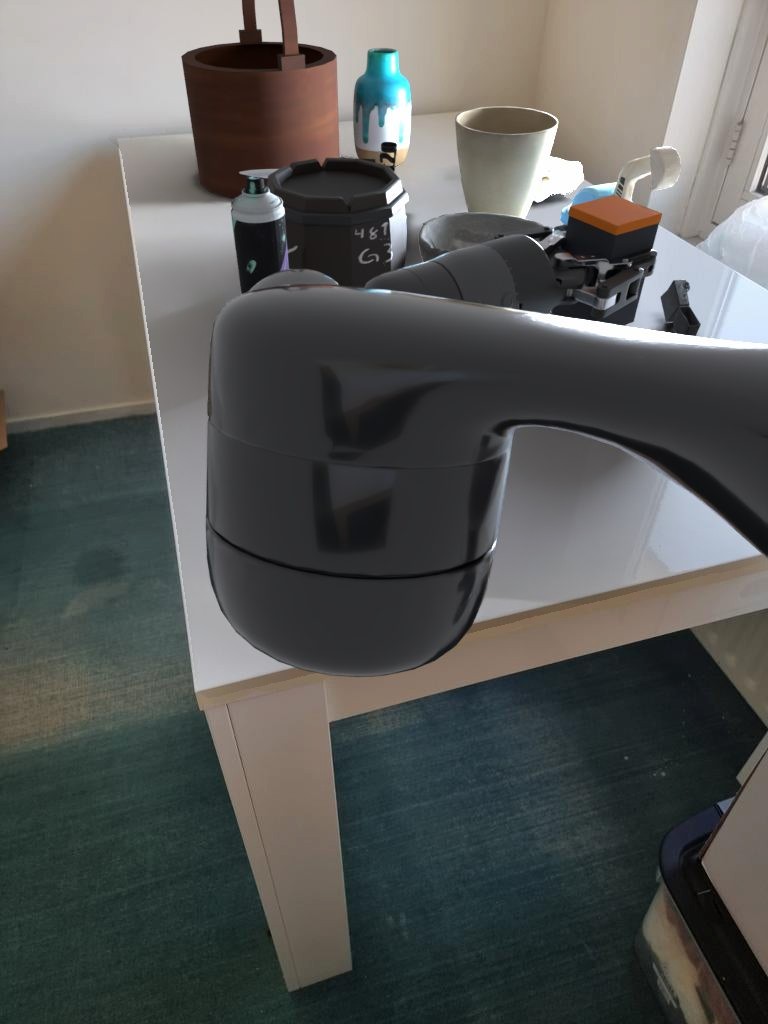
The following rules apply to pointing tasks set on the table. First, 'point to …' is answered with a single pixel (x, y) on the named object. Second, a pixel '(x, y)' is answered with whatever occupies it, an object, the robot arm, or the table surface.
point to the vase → (382, 107)
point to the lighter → (680, 309)
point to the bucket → (260, 103)
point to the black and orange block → (608, 245)
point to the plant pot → (503, 157)
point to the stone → (559, 178)
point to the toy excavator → (632, 179)
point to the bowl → (466, 231)
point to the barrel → (343, 217)
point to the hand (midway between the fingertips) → (625, 249)
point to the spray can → (258, 233)
